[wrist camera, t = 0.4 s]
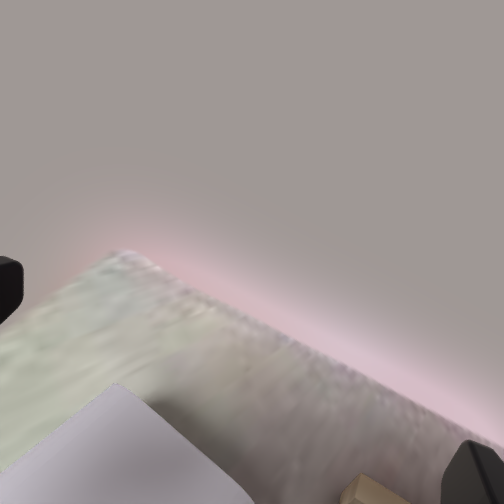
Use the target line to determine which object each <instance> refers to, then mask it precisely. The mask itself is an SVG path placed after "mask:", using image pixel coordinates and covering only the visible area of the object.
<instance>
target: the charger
mask: <svg viewBox="0 0 504 504" xmlns="http://www.w3.org/2000/svg"><path fill="white" fill-rule="evenodd" d="M0 504H255V503H254V502H253V500H252V499H251V498H250V496H249V495H248V494H247V493H246V492H245V491H244V490H243V488H242V487H241V486H240V485H238V484H237V483H236V482H235V481H234V480H233V479H232V478H231V477H230V476H229V475H227V474H226V473H225V472H224V471H223V470H222V469H221V468H219V467H218V466H217V465H216V464H215V463H214V462H212V461H211V460H210V459H209V458H208V457H207V456H206V455H204V454H203V453H202V452H201V451H200V450H199V449H198V448H196V447H195V446H194V445H193V444H192V443H191V442H189V441H188V440H187V439H186V438H185V437H184V436H183V435H181V434H180V433H179V432H178V431H177V430H176V429H175V428H173V427H172V426H171V425H170V424H169V423H168V422H166V421H165V420H164V419H163V418H162V417H161V416H160V415H158V414H157V413H156V412H155V411H154V410H153V409H152V408H150V407H149V406H148V405H147V404H146V403H145V402H143V401H142V400H141V399H140V398H139V397H138V396H136V395H135V394H134V393H133V392H131V391H130V390H128V389H127V388H125V387H124V386H122V385H119V384H115V383H113V384H112V385H111V386H109V387H108V388H107V389H106V390H104V391H103V392H102V393H101V394H99V395H98V396H97V397H96V398H94V399H93V400H92V401H91V402H89V403H88V404H87V405H86V406H84V407H83V408H82V409H81V410H79V411H78V412H77V413H75V414H74V415H73V416H72V417H70V418H69V419H68V420H67V421H65V422H64V423H63V424H62V425H60V426H59V427H58V428H57V429H55V430H54V431H53V432H52V433H50V434H49V435H48V436H47V437H45V438H44V439H43V440H42V441H40V442H39V443H38V444H36V445H35V446H34V447H33V448H31V449H30V450H29V451H28V452H26V453H25V454H24V455H23V456H21V457H20V458H19V459H18V460H16V461H15V462H14V463H13V464H11V465H10V466H9V467H8V468H6V469H5V470H4V471H3V472H1V473H0Z"/></svg>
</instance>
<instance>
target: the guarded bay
mask: <svg viewBox="0 0 504 504" xmlns="http://www.w3.org/2000/svg"><path fill="white" fill-rule="evenodd" d="M339 504H411V503H409V502H408V501H406V500H405V499H403V498H401V497H400V496H398V495H397V494H395V493H393V492H392V491H390V490H388V489H387V488H385V487H384V486H382V485H380V484H379V483H377V482H376V481H374V480H372V479H371V478H369V477H368V476H366V475H364V474H363V473H360V474H359V475H358V476H357V477H356V478H355V479H354V480H353V481H352V482H351V483H350V484H349V485H348V486H347V487H346V488H345V489H344V491H343V492H342V494H341V497H340V501H339Z"/></svg>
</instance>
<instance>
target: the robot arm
mask: <svg viewBox="0 0 504 504" xmlns="http://www.w3.org/2000/svg"><path fill="white" fill-rule="evenodd" d="M23 296H24V269H23V266H22V264H21V263H19V262H18V261H16V260H13V259H10V258H8V257H5V256H0V324H2V323H3V322H4V321H5V320H6V319H7V318H8V317H9V316H10V315H11V314H12V313H13V312H14V311H15V310H16V309H17V308H18V307H19V305H20V304H21V302H22V300H23ZM440 504H504V462H503V461H502V460H501V458H500V457H499V456H498V455H497V453H496V452H495V451H494V450H493V449H491V448H490V447H487V446H485V445H482V444H480V443H477V442H475V441H472V440H465V441H464V442H463V443H462V444H461V445H460V447H459V449H458V450H457V452H456V453H455V455H454V457H453V458H452V460H451V462H450V463H449V465H448V467H447V468H446V470H445V472H444V475H443V478H442V483H441V503H440Z"/></svg>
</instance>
